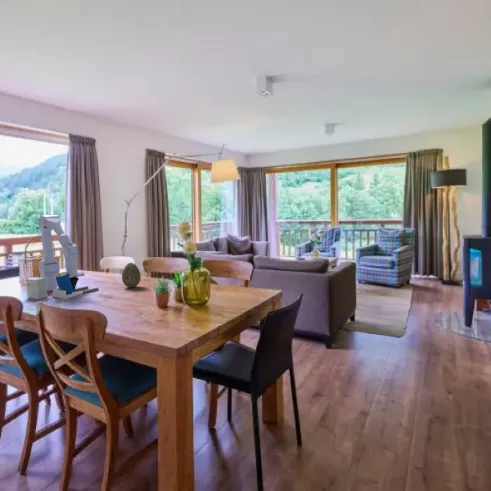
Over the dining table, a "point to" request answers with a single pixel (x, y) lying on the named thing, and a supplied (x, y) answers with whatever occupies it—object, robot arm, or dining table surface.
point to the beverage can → (64, 282)
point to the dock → (62, 293)
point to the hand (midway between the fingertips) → (73, 290)
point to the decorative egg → (131, 275)
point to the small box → (36, 288)
